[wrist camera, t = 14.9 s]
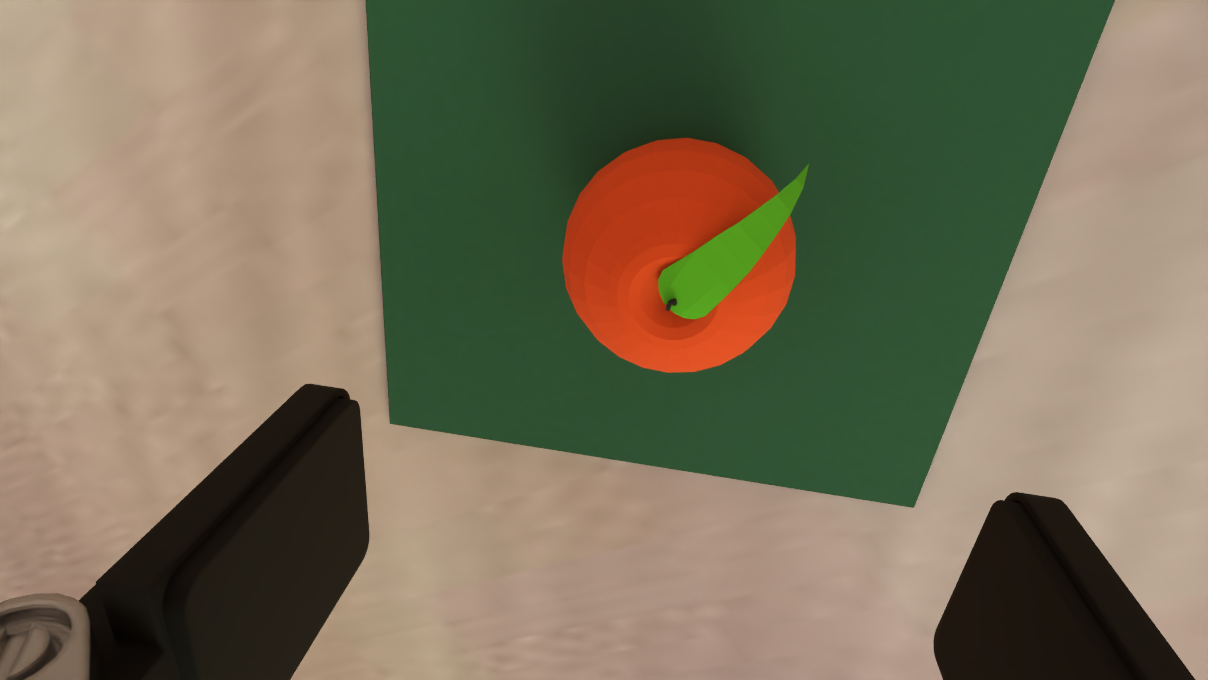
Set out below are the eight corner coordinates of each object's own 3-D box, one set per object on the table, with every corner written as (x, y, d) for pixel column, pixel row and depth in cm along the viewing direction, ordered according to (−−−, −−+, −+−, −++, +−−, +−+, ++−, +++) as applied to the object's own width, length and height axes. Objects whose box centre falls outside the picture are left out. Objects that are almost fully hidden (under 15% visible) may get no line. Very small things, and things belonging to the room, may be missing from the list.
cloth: (393, 418, 29) (389, 424, 29) (358, -223, 19) (352, -228, 19) (911, 501, 28) (914, 508, 27) (1167, -151, 18) (1176, -154, 17)
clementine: (719, 46, 21) (726, 66, 15) (853, 212, 23) (911, 295, 16) (541, 214, 24) (483, 291, 18) (671, 349, 26) (660, 463, 19)
